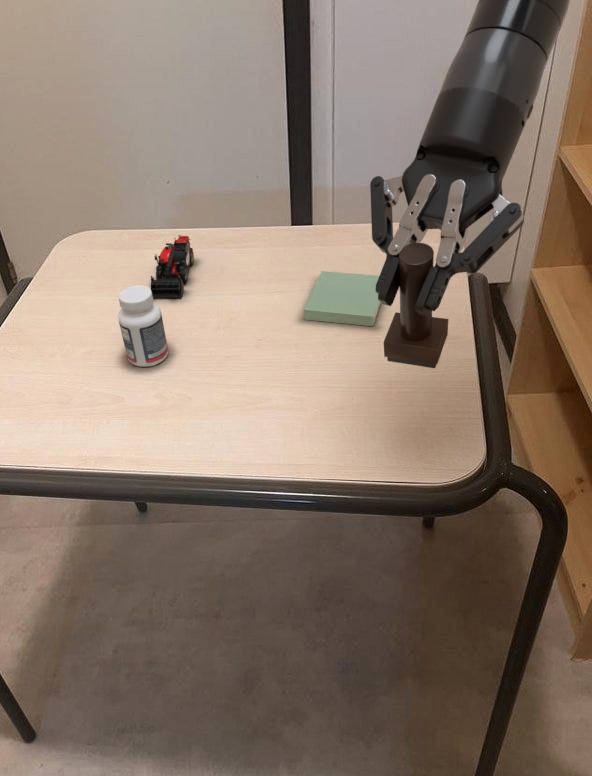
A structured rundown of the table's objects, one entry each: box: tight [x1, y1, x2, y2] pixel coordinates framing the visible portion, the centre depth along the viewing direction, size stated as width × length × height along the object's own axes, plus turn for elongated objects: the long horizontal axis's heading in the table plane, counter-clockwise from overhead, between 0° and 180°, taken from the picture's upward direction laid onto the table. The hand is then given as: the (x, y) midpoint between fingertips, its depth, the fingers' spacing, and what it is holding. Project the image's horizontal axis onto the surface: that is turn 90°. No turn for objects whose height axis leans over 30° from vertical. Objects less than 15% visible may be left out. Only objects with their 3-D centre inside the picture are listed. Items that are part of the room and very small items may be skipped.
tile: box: [303, 270, 382, 327], centre depth 96 cm, size 9×10×2 cm
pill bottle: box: [117, 285, 169, 368], centre depth 88 cm, size 5×5×9 cm
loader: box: [150, 234, 195, 298], centre depth 103 cm, size 12×5×5 cm, turn 172°
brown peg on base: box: [383, 242, 449, 369], centre depth 64 cm, size 5×4×12 cm
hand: (402, 307), depth 62 cm, fingers closed on brown peg on base, 3 cm apart
